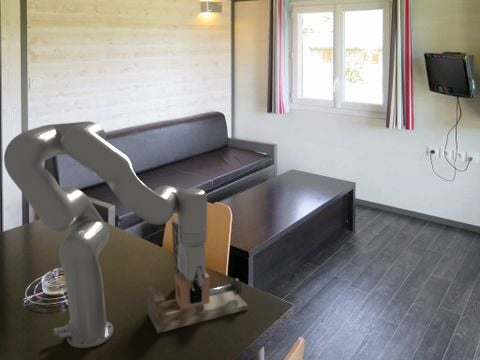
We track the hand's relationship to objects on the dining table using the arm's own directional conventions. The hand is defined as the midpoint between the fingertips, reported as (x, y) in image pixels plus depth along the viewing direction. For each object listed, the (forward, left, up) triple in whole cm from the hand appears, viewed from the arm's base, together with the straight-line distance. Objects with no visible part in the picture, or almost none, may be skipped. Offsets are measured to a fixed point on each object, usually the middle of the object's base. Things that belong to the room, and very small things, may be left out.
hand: (192, 296), depth 125 cm
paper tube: (+7, +28, -13) cm, 31 cm away
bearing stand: (+6, +12, -13) cm, 18 cm away
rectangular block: (0, 0, -2) cm, 2 cm away
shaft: (+12, +12, -10) cm, 19 cm away
